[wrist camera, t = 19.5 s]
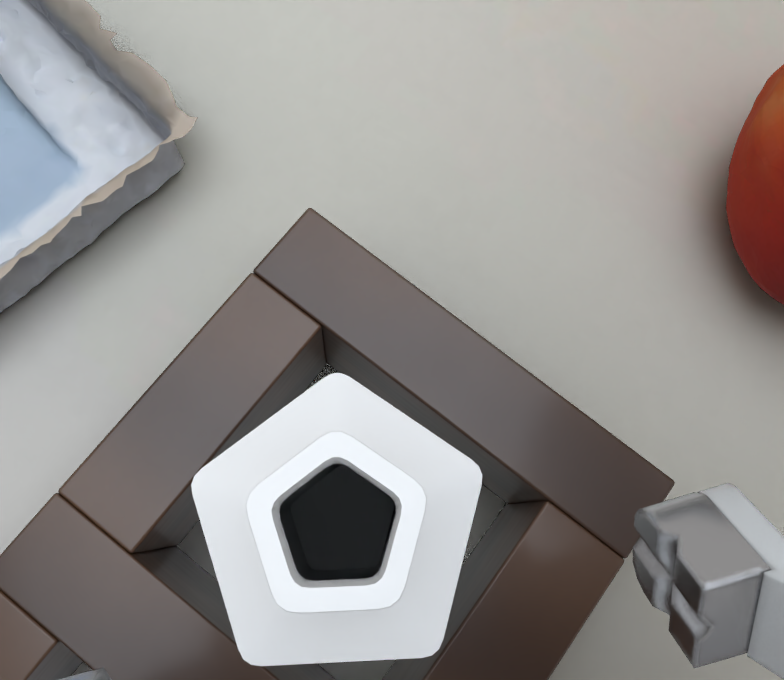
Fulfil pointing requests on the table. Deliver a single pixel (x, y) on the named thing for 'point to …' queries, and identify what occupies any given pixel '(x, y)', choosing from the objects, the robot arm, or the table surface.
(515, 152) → the table surface
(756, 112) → the tomato
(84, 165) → the picture frame
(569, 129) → the table surface
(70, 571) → the rack
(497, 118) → the table surface
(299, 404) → the perfume bottle
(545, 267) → the table surface
